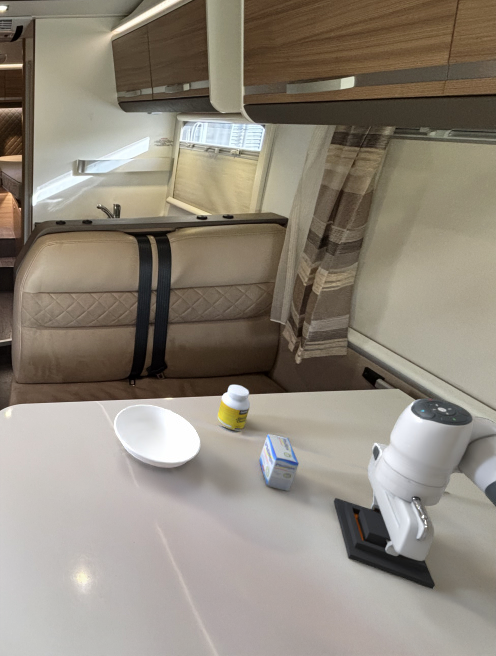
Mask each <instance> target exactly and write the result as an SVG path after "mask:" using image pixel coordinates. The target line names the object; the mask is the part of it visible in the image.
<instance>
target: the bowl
mask: <svg viewBox="0 0 496 656" xmlns="http://www.w3.org/2000/svg"><path fill="white" fill-rule="evenodd" d="M113 425H114V426H113V429H114V432H115V434H116V436H117V438H118V439H119V441H120V443H121V445H122V446H123V448H124V449H125V450H126V451H127V452H128V453H129V454H130V455H131V456H133V457H134V458H135V459H136V460H138V461H140V462H143V463H145V464H147V465H149V466H154V467H158V468H167V469H168V468H176V467H177V468H178V467H180V466H183V465H185V463H187V462H188V461H191V460H192V459H194V458H195V457H196V456H198V454H199V452H200V449H201V439H200V436H199V434H198V431H197V430H196V429H195V427H194V426H193V425H192V424H191V423H190V421H188V420H187V419H185V418H184V417H183V416H181V414H178V413H176V412H175V411H172V410H170V409H167V408H165V407H161V406H157V405H151V404H135V405H130V406H127V407H125V408H123V409H121V410H120V411H119V412H118V413H117V414H116V417H115V418H114V422H113Z"/></svg>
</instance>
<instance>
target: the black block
mask: <svg viewBox="0 0 496 656" xmlns="http://www.w3.org/2000/svg"><path fill="white" fill-rule="evenodd" d="M357 519H358V523H359V526H360V529H361V533H362V536H363V539H364V541H366V542H369V543H372V544H374V545H377V546H380V547H383V548H385V547H384V543H385V541H386V540H389V541H391V539H390V535H389V533H388V530H387V527H386V524H385V522H384V519H383V516H382V514H379V513H376V512H373V511H370V510H367V509H364V508H361V510H360V513H359V515H358V517H357Z"/></svg>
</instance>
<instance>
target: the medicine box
mask: <svg viewBox="0 0 496 656" xmlns="http://www.w3.org/2000/svg"><path fill="white" fill-rule="evenodd" d="M258 462H259V465H260V468H261V471H262V474H263V477H264V480H265V484H266V486H267V487H270V488H274V489H277V490H282V491H285V492H289V491H290V489H291V486H292V484H293V481H294V478H295V475H296V472H297V469H298V468H299V461H298V459H297V457H296V453H295V451H294V449H293V445H292V444H291V441H290V439H289V437H284V436H281V435H275V434H270V433H268V434H267V435H266V438H265V441H264V444H263V447H262V449H261V453H260V456H259V459H258Z"/></svg>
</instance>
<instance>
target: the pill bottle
mask: <svg viewBox="0 0 496 656" xmlns="http://www.w3.org/2000/svg"><path fill="white" fill-rule="evenodd" d="M249 396H250V391H249V389H247V387H244V386H242V385H241V384H240V385H239V384H230V385H229V386H228V388H227V392H225V393H223V395H222V396H221V400H220V404H219V407H218V412H217V416H216V417H217V420H218V422H219V423H220V425H219V424H218V426H219V428H221V429H223V431H226V432H228V433H232V434H239V433H241V432H242V431H240V430H241V429H243V428H244V427H245V425H246V423H247V418H248V415H249V411H250V408H251V402H250V400H249Z"/></svg>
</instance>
